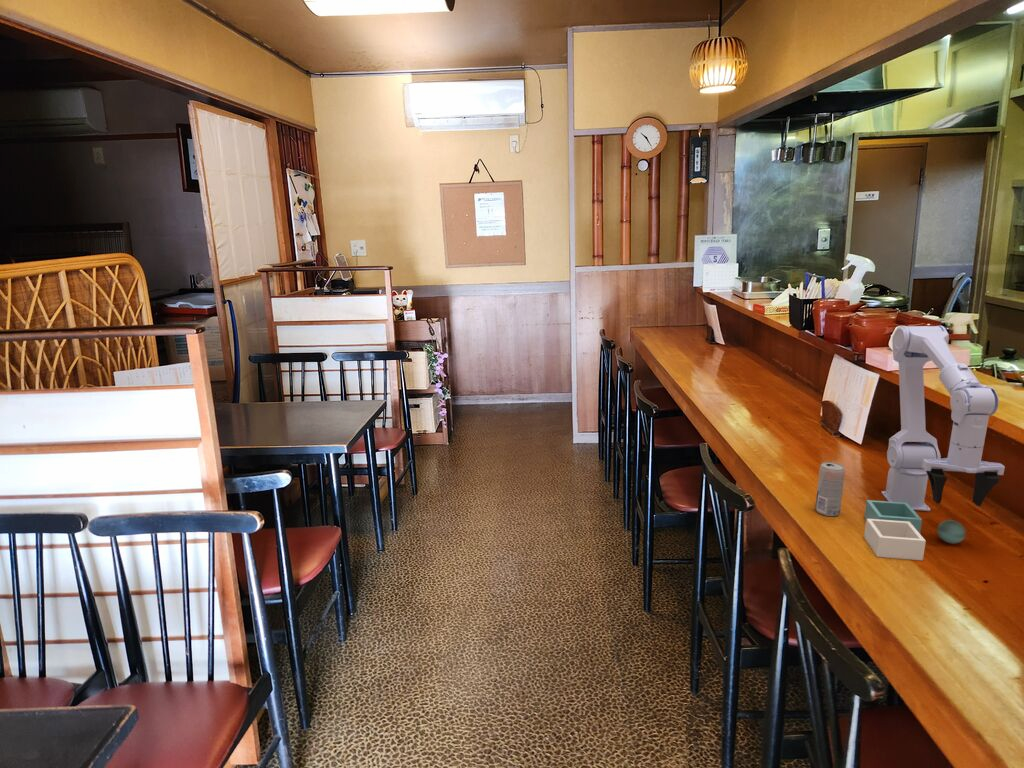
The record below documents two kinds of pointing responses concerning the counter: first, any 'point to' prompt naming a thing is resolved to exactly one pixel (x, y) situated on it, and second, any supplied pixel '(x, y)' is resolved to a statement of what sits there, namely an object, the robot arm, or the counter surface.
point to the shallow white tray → (894, 539)
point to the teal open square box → (892, 512)
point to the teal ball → (951, 531)
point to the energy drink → (830, 489)
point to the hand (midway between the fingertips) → (956, 502)
